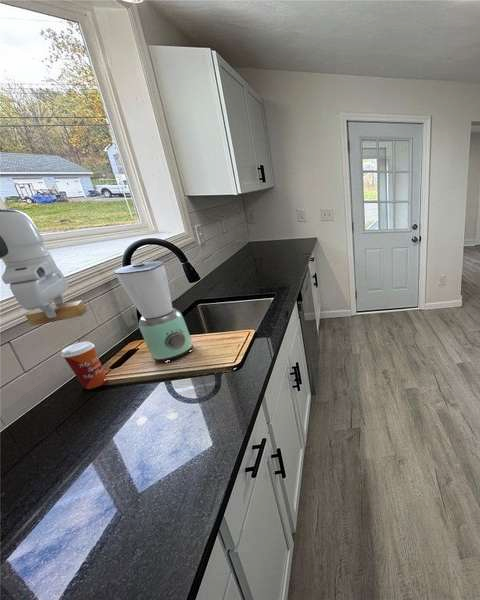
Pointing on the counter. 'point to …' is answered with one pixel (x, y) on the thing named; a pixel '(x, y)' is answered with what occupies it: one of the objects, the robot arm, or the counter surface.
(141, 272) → the juicer
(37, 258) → the robot arm
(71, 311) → the oak bar
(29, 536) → the counter surface
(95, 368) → the paper cup
